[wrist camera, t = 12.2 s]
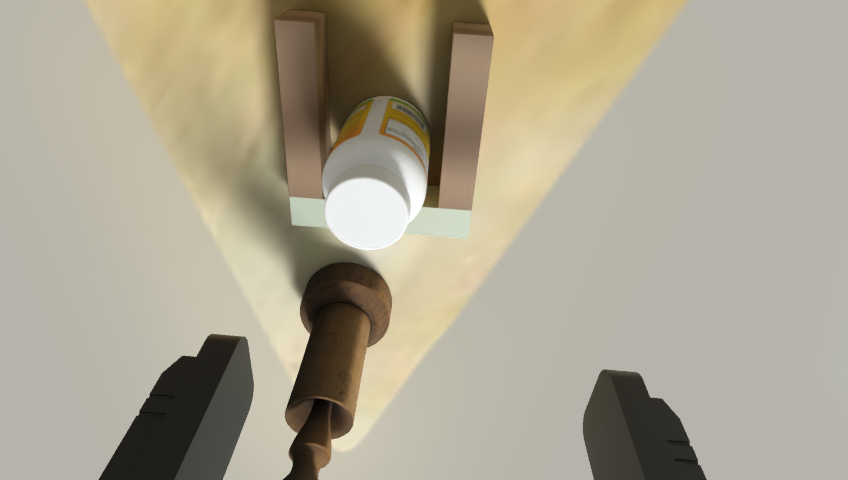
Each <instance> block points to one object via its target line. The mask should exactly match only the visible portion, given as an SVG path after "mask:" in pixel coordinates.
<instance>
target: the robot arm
mask: <svg viewBox="0 0 848 480" xmlns="http://www.w3.org/2000/svg"><path fill="white" fill-rule="evenodd" d="M253 389H254V383H253V375H252V368H251V361H250V354H249V347H248V341H247V339H246V337H240V336H229V335H218V334H211V335H209V336H208V337H207V339H206V340H205V342H204V344H203V346H202V348H201V350H200V351H199V353H198V355H197V357H191V356H182V357H181V358H179V359H178V360H177V361H176V362H175V363H174V364H172V365H171V366H170V367H169V368H168V369H167V370H165V371H164V372H163V373H162V374H161V376H160V378H159V380H158V381H157V383H156V384H155V386H154V388H153V389H152V391H151V393H150V397H149V398H147V399H146V401H145V403H144V404H143V406H142V408H141V409H140V413H139V415H138V416H136V418H135V419H134V421H133V423H132V425H131V426H130V428H129V430H128V431H127V433H126V435H125V436H124V438H123V440H122V442H121V443H120V445H119V446H118V448H117V450H116V451H115V453H114V455H113V456H112V458H111V460H110V461H109V463H108V465H107V466H106V468H105V470H104V471H103V473H102V475H101V477H100V478H99V480H223V477H224V475H225V472H226V470H227V467H228V464H229V462H230V459H231V457H232V454H233V451H234V449H235V446H236V444H237V441H238V438H239V436H240V433H241V431H242V428H243V425H244V423H245V420H246V418H247V415H248V412H249V410H250V406H251V403H252V398H253ZM583 435H584V441H585V445H586V449H587V453H588V457H589V461H590V465H591V469H592V473H593V477H594V480H706V478H705V475H704V473H703V470H702V468H701V466H700V465H698V459H697V457H696V455H695V452H694V450H693V448H692V446H690V441H689V439H688V437H687V434H686V432H685V430H684V427H683V425H682V423H681V421H680V419H679V418H678V416H677V415H676V414H675V413H674V412H673V411H672V410H671V409H670V407H669V406H668V405H667V404H666V403H665V402H664V401H663V400H662V399H659V398H650V396H649V394H648V391H647V389H646V386H645V384H644V381H643V379H642V377H641V376H640V374H639V373H637V372H627V371H615V370H602V371H601V373H600V374H599V377H598V380H597V382H596V385H595V387H594V390H593V392H592V395H591V397H590V400H589V403H588V405H587V408H586V410H585V413H584V419H583Z"/></svg>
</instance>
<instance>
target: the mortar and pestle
mask: <svg viewBox="0 0 848 480" xmlns="http://www.w3.org/2000/svg"><path fill="white" fill-rule="evenodd" d="M391 308H392V297H391V293H390V290H389V288H388V286H387V284H386V283H385V281H384V280H383V279H382V278H381V277H380V276H379V275H378V274H377V273H375V272H374V271H372V270H370V269H368V268H366V267H364V266H361V265H358V264H352V263H336V264H331V265H328V266H326V267H323V268H322V269H320V270H319V271H317V272H316V273H315V274H314V275H313V276H312V277H311V279H310V280H309V282H308V284H307V287H306V290H305V293H304V295H303V298H302V301H301V306H300V316H301V320H302V323H303V325H304V327H305V328H306V330H307V331H308V332H309V333H310V337H309V341H308V344H307V347H306V350H305V353H304V357H303V360H302V363H301V366H300V369H299V372H298V375H297V378H296V381H295V384H294V387H293V390H292V393H291V396H290V399H289V402H288V405H287V408H286V411H285V419H286V422H287V424H288V425H289V426H290V428H291V429H293V430H294V431H295V432H297V433H298V434H297V436H296V438H295V439H294V441H293V443H292V445H291V447H290V450H289V457H290V459H291V460H292V461H293V467H292V470H291V472H290V474H289V475H287V476H286V477H285V478H284V479H283V480H318V473H319V470H320V468H323V467H325V466H326V465H327V464H328V463H329V462H330V459H331V439H336V438H339V437H341V436H344V435H345V434H347V433H348V432H349V431H350V430H351V428H352V426H353V422H354V417H355V411H356V405H357V399H358V393H359V387H360V381H361V375H362V370H363V364H364V359H365V354H366V348H367V347H370V346H372V345H374V344H375V343H377V342H378V341H379V340H380V339H381V338H382V337H383V336H384V335H385V333H386V331H387V329H388V326H389V321H390V314H391Z"/></svg>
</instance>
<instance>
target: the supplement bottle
mask: <svg viewBox="0 0 848 480" xmlns="http://www.w3.org/2000/svg"><path fill="white" fill-rule="evenodd" d="M429 154H430V132H429V128H428V125H427V123H426V121H425V119H424V117H423V116H422V114H421V113H420V112H419V111H418V110H417V109H416V108H415V107H414V106H413V105H411V104H410V103H408V102H407V101H405V100H402V99H400V98H397V97H392V96H378V97H373V98H370V99H368V100H366V101H364V102H362V103H361V104H359V105H358V106H357V107H356V108H354V110H353V111H352V112H351V113H350V115H349V116H348V118H347V120H346V122H345V124H344V126H343V128H342V130H341V132H340V134H339V137H338V139H337V141H336V143H335V145H334V147H333V149H332V151H331V153H330V155H329V157H328V159H327V161H326V164H325V167H324V170H323V174H322V190H323V194H324V197H325V204H324V216H325V220H326V223H327V225H328V227H329V229H330V230H331V232H332V233H333V234H334V235H335V236H336V237H337V238H338V239H339V240H341V241H342V242H344V243H345V244H347V245H349V246H351V247H354V248H358V249H363V250H376V249H381V248H384V247H387V246H389V245H391V244H393V243H394V242H396V241H397V240H398V239H399V238H400V237H401V236H402V235H403V233H404V232H405V230H406V228H407V225H408V223H410V222H411V221H412V220H413V219H414V218H415V217H416V216H417V214H418V213H419V211H420V210H421V208H422V205H423V203H424V200H425V196H426V190H427V177H428V165H429Z"/></svg>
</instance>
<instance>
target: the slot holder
mask: <svg viewBox="0 0 848 480" xmlns="http://www.w3.org/2000/svg"><path fill="white" fill-rule="evenodd" d="M274 27H275V38H276V50H277V61H278V73H279V84H280V95H281V107H282V118H283V130H284V141H285V152H286V164H287V175H288V187H289V198H290V210H291V221H292V225H297V226H310V227H323V228H329V227H328V225H327V223H326V220H325V216H324V204H325V197H324V194H323V190H322V174H323V170H324V167H325V164H326V161H327V159H328V157H329V155H330V153H331V136H330V109H329V81H328V54H327V27H326V12H315V11H302V10H288V11H287V12H285V13H284V14H282V15H281V16H279V17H278V18H276V19H274ZM493 40H494V35H493V32H492V29H491V26H490V25H487V24H474V23H461V22H454V24H453V35H452V46H451V58H450V69H449V81H448V92H447V103H446V115H445V126H444V138H443V149H442V160H441V172H440V183H439V186H438V185H427V190H426V196H425V200H424V203H423V205H422V208H421V210H420V211H419V213H418V214H417V216H416V217H415V218H414V219H413V220H412V221H411V222H410V223H408V225H407V228H406V230H405V232H404V233H403V234H415V235H428V236H441V237H454V238H467V239H468V233H469V226H470V218H471V210H472V202H473V195H474V187H475V179H476V171H477V164H478V156H479V148H480V140H481V133H482V125H483V117H484V109H485V102H486V94H487V86H488V78H489V71H490V63H491V55H492V47H493Z"/></svg>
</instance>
